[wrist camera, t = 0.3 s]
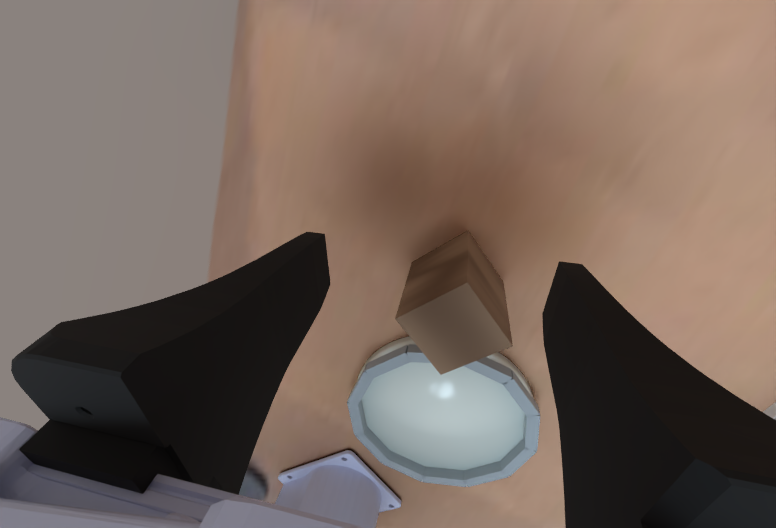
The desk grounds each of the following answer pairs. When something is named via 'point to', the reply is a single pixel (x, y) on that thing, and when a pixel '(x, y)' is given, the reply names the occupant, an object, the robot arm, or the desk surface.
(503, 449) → the dish
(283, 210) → the desk surface
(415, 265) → the block
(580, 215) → the desk surface
